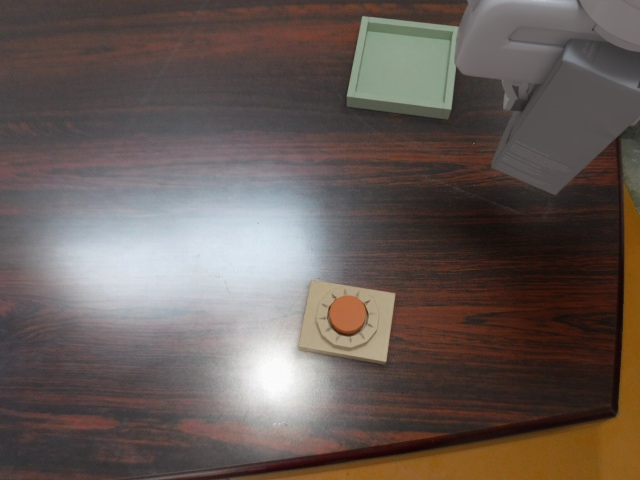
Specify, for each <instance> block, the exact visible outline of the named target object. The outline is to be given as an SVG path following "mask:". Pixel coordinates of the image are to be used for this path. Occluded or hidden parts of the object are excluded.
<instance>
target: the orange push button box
mask: <svg viewBox="0 0 640 480" xmlns="http://www.w3.org/2000/svg"><path fill="white" fill-rule="evenodd" d="M346 295H350V296H354V297H356V298H358V299H359V300H361V301H362V303H363V304H364V306H365V309H366V319H365V323H364V325H363V327H362V328H361V329H360V330H359V331H358V332H356V333H353V334H343V333H340V332H338V331H337V330H336V329H335V328H334V327H333V326H332V324H331V321H330V307H331V305H332V303H333V302H334V301H335V300H336V299H337V298H339V297H341V296H346ZM395 301H396V292H390V291H384V290H378V289H372V288H365V287H359V286H353V285H347V284H340V283H335V282H334V283H333V282H328V281H322V280H317V279H311V280H310V282H309V289H308V294H307V299H306V304H305V308H304V309H305V310H304V315H303V320H302V323H301V324H302V325H301V331H300V335H299V341H298V345H297V346H298V349H299V350H300V351H305V352H309V353H310V352H311V353H315V354H321V355H322V354H323V355H327V356H333V357H339V358H344V359H349V360H355V361H361V362H367V363H372V364H379V365H385V366H386V363H387V360H388V354H389V353H388V352H389V346H390V339H391V338H390V337H391V329H392V325H393V324H392V323H393V317H394V310H395V309H394V308H395Z"/></svg>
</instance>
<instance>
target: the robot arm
mask: <svg viewBox="0 0 640 480" xmlns="http://www.w3.org/2000/svg"><path fill="white" fill-rule="evenodd" d="M466 2H467V6H466V8H465V10H464V12H463V14H462V17H461V20H460V22H459V24H458V27H459V28H458V32H457V37H456V45H455V55H454V63H455V65H456V69H457V70H458V71H459V72H460V73H461V75H464V76H466V77H467V76H468V77H475V78H482V79H483V78H484V79H492V80H500V81H501V87H502V89H503V91H504V94H503V103H502V104H503V105H502V108H503V111H512V112H514V111H521V112H522V111H523V109H524V107H525V106H526V105H527V103H528V101H529V94H528V90H529V85H530V83H533V84H541V85H542V84H543V82H544V81H545V79H546V78H547V76H548V75H549V73H550V71H551V70H552V68H553V67H554V65H555V63H556V62H557V60H558V58H559V57H560V55H561V54H562V52H563V50H564V48H565V46H566V44H567V43H568V41H569V40H570V39H582V40H592V41H602V42H610V43H612V44H613V45H615V46H618V47H621V48H623V49H626V50H630V51H635V52H640V0H466ZM639 121H640V116H639V117H638V118H637V119H636V120H635V121H634V122H633V123H632V124H631V125H629V126H628V127H634V126H636V125H637V124H638V122H639Z"/></svg>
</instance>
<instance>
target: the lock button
mask: <svg viewBox="0 0 640 480" xmlns="http://www.w3.org/2000/svg"><path fill="white" fill-rule="evenodd" d="M365 319H366V309H365V306H364V304H363V303H362V301H361V300H359V299H358V298H356V297H354V296H350V295H346V296H341V297H339V298H337V299H336V300H335V301H334V302H333V303H332V305H331V307H330V321H331V324H332V326H333V327H334V328H335V329H336V330H337V331H338V332H340V333H343V334H353V333H356V332H358V331H359V330H360V329H361V328H362V327H363V325H364V323H365Z"/></svg>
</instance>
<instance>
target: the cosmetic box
mask: <svg viewBox="0 0 640 480" xmlns="http://www.w3.org/2000/svg"><path fill="white" fill-rule="evenodd" d="M528 94H529V101H528V103H527V105H526V106H525V107H524V109H523V111H522V112H521V111H512V114H511V116H510V118H509V120H508V122H507V124H506V127H505V129H504V131H503V134H502V136H501V138H500V141H499V143H498V145H497V148H496V150H495V153H494V156H493V157H492V161H491V164H490V167H491V169H492V170H495V171H497V172H499V173H502V174H504V175H507V176H510V177H511V178H514V179H516V180H519V181H521V182H523V183H526V184H528V185H530V186H533V187H535V188H536V189H540V190H541V191H544V192H545V193H546V192H547V193H549V194H552V195H554V196H556V195H558V194H559V193H560V192H561V191H562V190H563V189H564V188H565V186H567V185H568V184H569V183H570V182H571V181H572V180H574V179H575V177H577V176H578V175H579V174H580V173H581V172H582V171H583V170H584V169H585V168H586V167H587V166H588V165H589V164H590V163H591V162H592V161H594V160H595V159H596V158H597V157H598V156H599V155H600V154H601V153H602V152H603V151H604V150H605V149H606V148H607V147H608V146H609V145H610V144H611V143H612V142H613V141H614V140H616V139H617V138H618V137H619V136H620V135H622V133H623V132H624V131H626V130H627V129H628V127H630V126H629V125H631V124H632V123H633V122H634V121H635V120H636V119H637V118H638V117H639V116H640V52H635V51H630V50H626V49H623V48H621V47H618V46H615V45H613V44H612V43H610V42H602V41H592V40H582V39H570V40H569V41H568V43H567V44H566V46H565V48H564V50H563V52H562V54H561V55H560V57H559V58H558V60H557V62H556V63H555V65H554V67H553V68H552V70H551V71H550V73H549V75H548V76H547V78H546V79H545V81H544V82H543V84H542V85H541V84H533V83H529V90H528Z"/></svg>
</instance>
